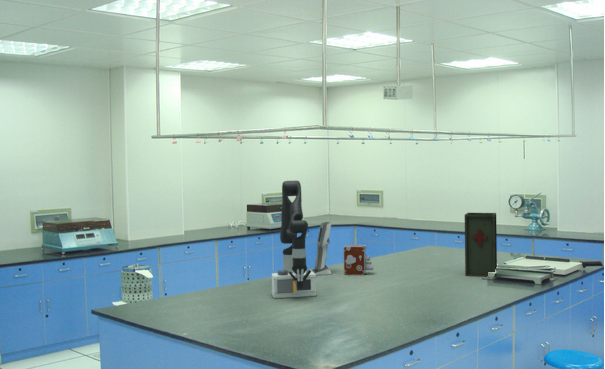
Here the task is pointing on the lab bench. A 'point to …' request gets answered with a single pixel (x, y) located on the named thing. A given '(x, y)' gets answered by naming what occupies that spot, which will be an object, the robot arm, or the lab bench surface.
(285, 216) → the robot arm
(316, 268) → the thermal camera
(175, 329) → the lab bench surface
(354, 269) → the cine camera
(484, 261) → the first aid box
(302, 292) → the camera housing
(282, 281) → the side door
